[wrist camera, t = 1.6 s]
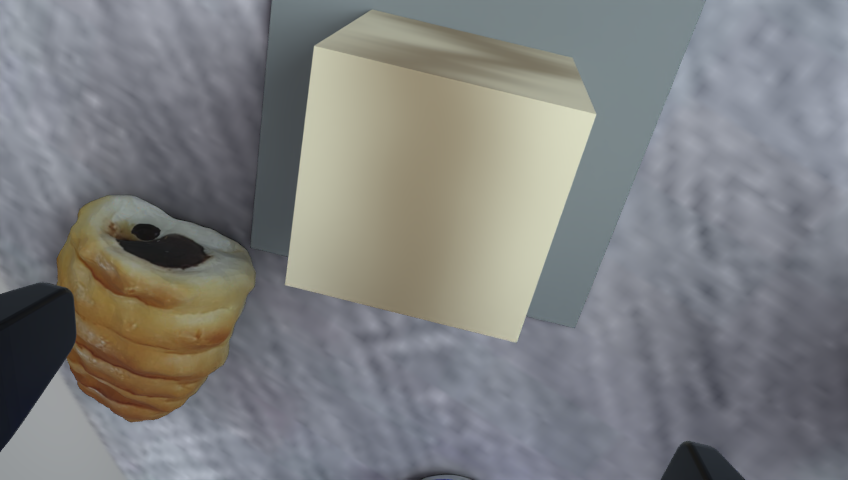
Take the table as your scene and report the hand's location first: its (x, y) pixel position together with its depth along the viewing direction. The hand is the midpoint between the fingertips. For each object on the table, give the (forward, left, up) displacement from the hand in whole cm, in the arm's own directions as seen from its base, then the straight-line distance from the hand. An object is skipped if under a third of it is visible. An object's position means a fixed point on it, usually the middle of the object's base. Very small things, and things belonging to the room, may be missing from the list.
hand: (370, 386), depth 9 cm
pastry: (+9, +9, -12) cm, 18 cm away
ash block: (0, 0, -12) cm, 12 cm away
